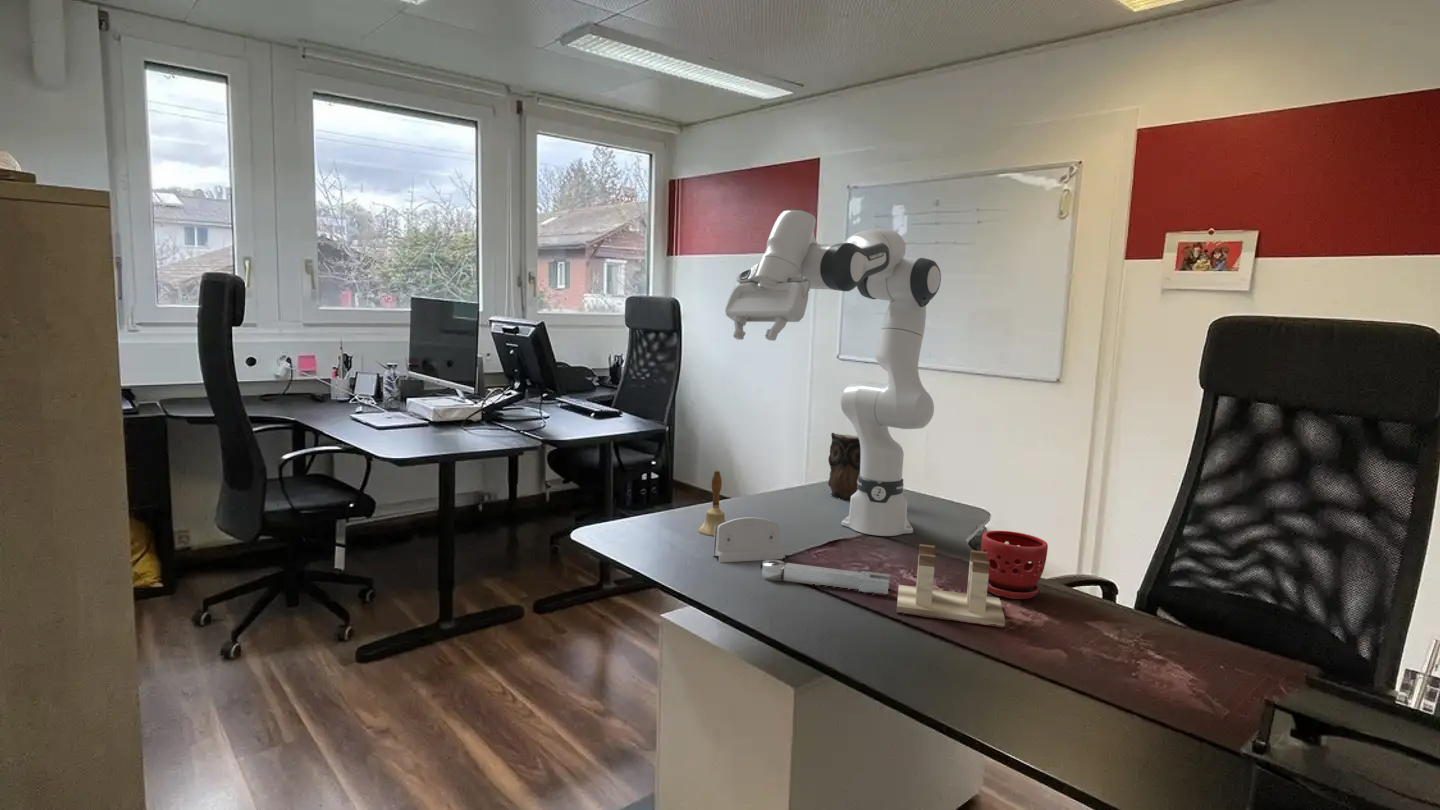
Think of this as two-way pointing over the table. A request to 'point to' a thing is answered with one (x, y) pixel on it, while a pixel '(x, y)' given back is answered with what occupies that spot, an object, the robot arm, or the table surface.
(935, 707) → the table surface
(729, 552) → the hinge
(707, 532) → the hand bell
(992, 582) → the plant pot
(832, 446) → the owl
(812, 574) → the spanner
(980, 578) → the tool rest
